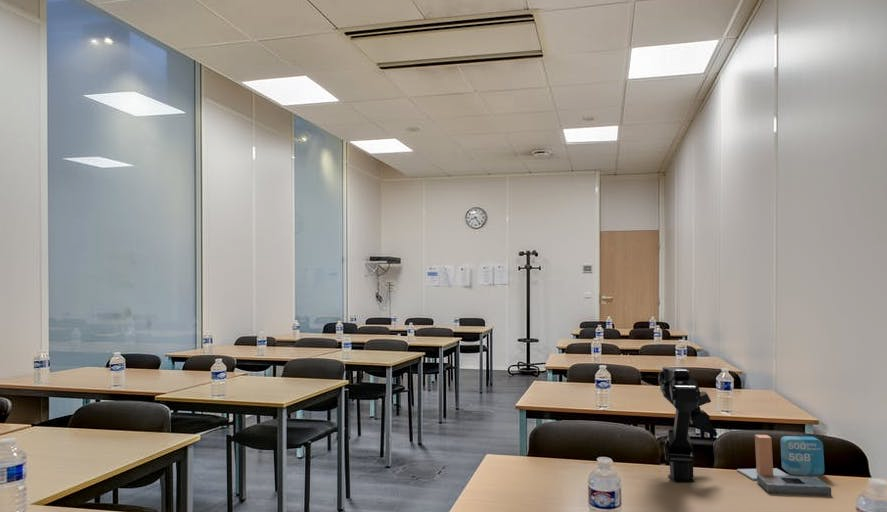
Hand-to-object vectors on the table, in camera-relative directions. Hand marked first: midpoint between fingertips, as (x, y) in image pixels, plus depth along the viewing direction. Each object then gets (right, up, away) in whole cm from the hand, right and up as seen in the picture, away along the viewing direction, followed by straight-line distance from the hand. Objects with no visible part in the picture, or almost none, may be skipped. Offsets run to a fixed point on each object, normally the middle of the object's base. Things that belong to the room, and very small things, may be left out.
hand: (713, 431), depth 206 cm
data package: (+29, -13, -5) cm, 32 cm away
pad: (+15, -13, -6) cm, 21 cm away
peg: (+15, -12, -6) cm, 20 cm away
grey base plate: (+16, -12, -20) cm, 29 cm away
